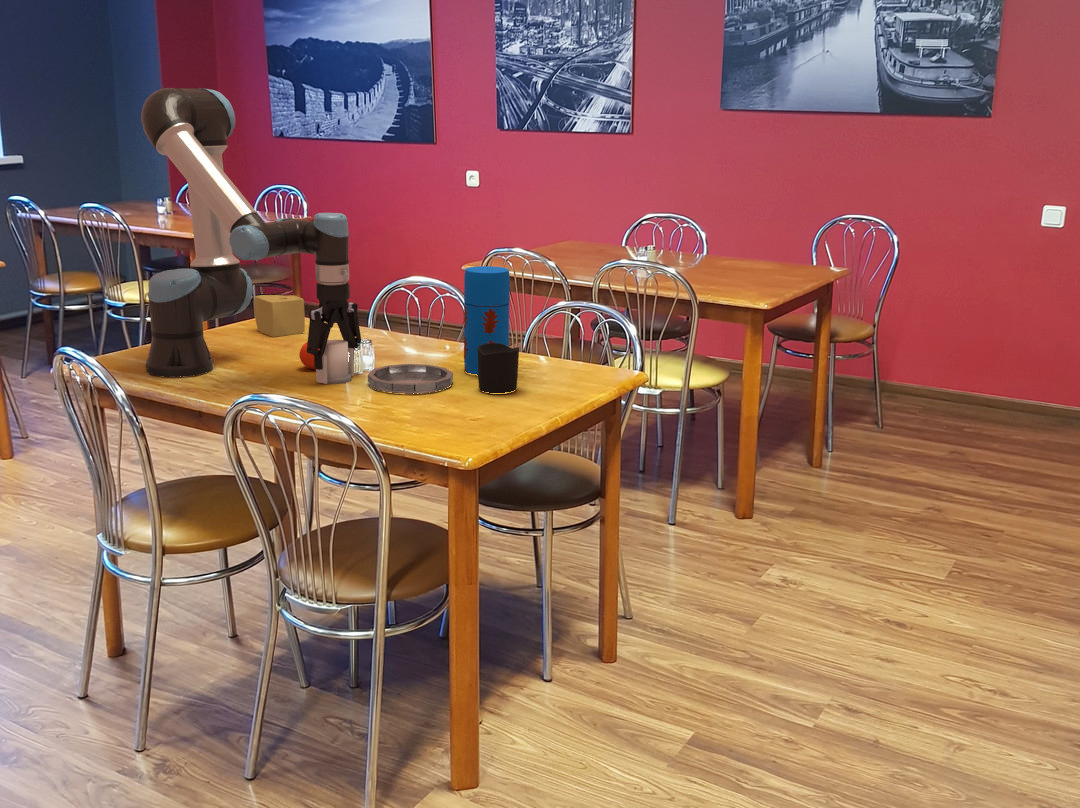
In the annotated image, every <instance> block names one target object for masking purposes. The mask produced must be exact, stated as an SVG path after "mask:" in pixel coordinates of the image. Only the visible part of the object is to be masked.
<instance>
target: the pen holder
mask: <svg viewBox="0 0 1080 808" xmlns="http://www.w3.org/2000/svg"><path fill="white" fill-rule="evenodd" d="M477 350H478V377H477V378H478V379H477V380H478V389H480V390H481V391H484V392H489V393H505V392H511V391H514V390H516V391H517V389H518V387H517V386H518V378H519V377H518V375H519V355H520V347H518V346H517V347H514V348H512V347H510V346H509V347H508V346H506V345H504V344H500V343H488V344H482V345H479V346H478V347H477ZM480 390H479V391H480ZM481 391H480V392H481Z"/></svg>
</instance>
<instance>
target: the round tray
mask: <svg viewBox="0 0 1080 808" xmlns="http://www.w3.org/2000/svg"><path fill="white" fill-rule="evenodd" d="M453 380H454V372H453V371H451V370H449V369H447V368H446V367H444V366H437V365H433V364H426V363H425V364H423V363H420V364H419V363H403V364H402V363H401V364H392V365H391V364H390V365H389V364H388V365H385V366H381V367H376V368H373V369H371V371H370V372H369V373H368V374H367V382H368V385H369V387H370V386H371V387H372V388H374V389H376V390H375V391H377V390H379V391H378V392H380V391H385V392H392V393H405V394H413V393H414V394H417V393H419V394H418V395H421V394H420V393H429V392H435V391H439V390H443V389H445V388H447V387H449V386H450V385H451V384H452V385H453ZM371 387H370V388H371ZM372 388H371V389H372ZM374 389H373V390H374ZM443 391H444V390H443ZM435 393H436V392H435ZM429 394H430V393H429Z"/></svg>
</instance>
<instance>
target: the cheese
mask: <svg viewBox="0 0 1080 808" xmlns="http://www.w3.org/2000/svg"><path fill="white" fill-rule="evenodd" d="M253 313H254V319H255V324H256V328H257V329H256V330H257V332H258V331H259V333H262V334H265V335H267V336H271V337H273V338H275V337H276V338H277V337H285V335H286V336H290V335H291V334H293V335H297V334H296V333H301V334H304V333H305V332H306V331H305V329H306V328H305V327H306V326H305V325H306V324H305V323H306V322H305V301H304V298H302V297H300V296H297V295H293V294H292V295H281V294H274V295H273V294H263V295H254V299H253ZM303 332H304V333H303Z"/></svg>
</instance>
